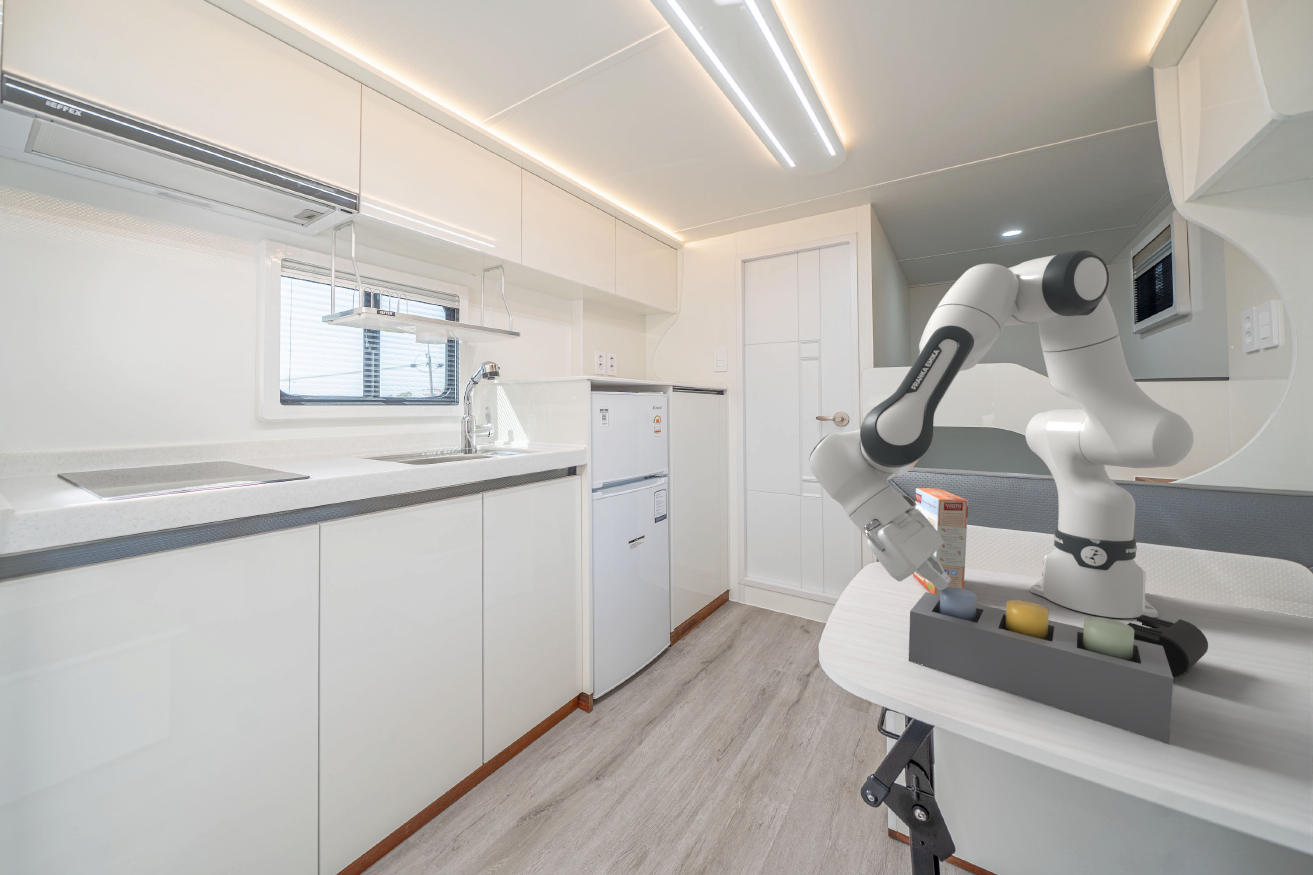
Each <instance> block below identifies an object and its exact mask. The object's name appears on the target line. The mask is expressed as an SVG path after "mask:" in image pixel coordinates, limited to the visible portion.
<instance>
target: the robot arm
mask: <svg viewBox="0 0 1313 875" xmlns="http://www.w3.org/2000/svg"><path fill="white" fill-rule="evenodd" d="M1109 283H1110V273H1109V270H1108V266H1107V264H1106V262H1105V261H1104V260H1103V259H1102V258H1101V257H1100V256H1099V255H1097V254H1096V253H1095V252H1093V251H1092V250H1087V249H1085V250H1084V249H1083V250H1082V249H1081V250H1080V249H1079V250H1067V251H1062V252H1059V253H1058V254H1055V255H1054V254H1052V255H1049V256H1043V257H1038V258H1033V259H1031V260H1026V261H1024V262H1021V263H1019V264H1017V265H1013V266H1011V267H1006V266H1004V265H1001V264H998V263H981V264H976V265H974V266H972V267H970V268H969V269H967V270H966V271H965V272H964V273H962V274H961V276H960V277H959V278H958V279H957V280H956V281H955V282H954V283H953V285H952V286H951V287H950V288H949V290H948V291H947V292H945V295H944V296H943V297H942V299H941V300H940V301H939V302H938V305H937V306H936V308H935V309H934V311H933V313H932V314H931V316H930V318H929V319H928V321H927V323H926V325H925V327H924V330H923V333H922V335H921V337H920V341H919V343H918V344H919V345H918V348H919V353H918V356H917V358H916V360H915V361H914V363H913V364H912V366H911V367H910V369H909V371H908V372H907V374H906V375H905V377H904V379H903V380H902V382H901V383H900V384H899V386H898V387H897V389H896V391H895V392H894V393H892V395H891V396H889V397H888V398H886V399H885V400H883V401H882V402H880V403H879V404H877V405H876V406H874V407H873V408H872V409H870V411H869V412H868V413H867V414H866V415H865V417H864V418H863V421H862V422H861V426H860V429H856V430H852V431H851V430H850V431H846V432H845V431H844V432H843V431H842V432H834V431H833V432H830V433H828V434H826V436H824V437H822V439H820V441H819V442H817V444H816V445H815V446H814V448H813V450H811V453H810V455H809V458H808V467H809V469H810V471H811V473H812V474H813V476H814V478H815V479H816V480H817V482H818V483H819V484H820V485H821V487H822V488H823V489H824V490H825V491H826V493H827V494H828V495H829V496H830V497H831V498H832V499H833V500H835V501H836V502H837V503H839V504H840V505H841V507H842V509H843V510H844V512H845V513H846V516H847V517H848V518H849V519H850V521H851V522H852V523H853V524H854V525H855V526H856V527H857V528H858V530H859V531H860V532H861V533H862V534H863V535H864V537H866V539H867V545H868V548H869V549H870V551H871V552H872V553H873V555H874V556H875V557H876V559H877V560H878V562H879V563H880V564H881V566H882V567H883V568H884V570H885V571H886V572H887V573H888V574H889V576H891V577H892V578H893V579H894V580H896V581H898V582H903V581H904V580H905V579H907V578H908V577H910V576H913V573H914V572H916V571H917V572H918V573H919V574H920V575H921V576H922V577H924V578H925V579H927V580H928V581H930V582H931V583H932V584H933V585H934V586H935V587H936V588H937V589H938V590H943V589H945V588H946V587H948V585H949V584H950V582H951V578H950V577H949V576H948V575H947V573H946V572H945V571H944V569H943V567H942V566H941V564H940V562H939V560H938V559H937V558H936V557H935V556H934V555H933V554H934V553H935V552H936V551H937V550H938V549H939V548H940V547H941V546H942V545H943V544H944V541H943V539H942V537H941V536H940V534H939V533H938V531H937V530H936V529H935V528H934V527H933V525H932V524H931V523H930V522H929V521H928V520H927V518H926V517H925V516H924V515H923V514H922V513H921V512H920V511H919V510H917V509H915V507H916V505H917V504H916V503H915V500H913V498H912V497H911V496H909V495H905V494H902V493H900V492H898V491H897V489H895V488H894V487H893V486H892V485H891V484H890V482H889V481H891V480H894V479H895V478H897V477H899V476H903V475H904V474H906V473H908V472H910V471H911V470H912V469H913V468H914V467H915V465H916V464H918V461H919V460H920V459H921V457H923V456H924V455H925V454H926V453H927V451H928V450H929V448H930V446H931V444H932V442H933V438H934V437H933V436H934V420H935V418H934V417H935V413H936V410H937V408H938V406H939V404H940V403H941V401H942V399H943V398H944V396H945V395H946V393H947V391H948V390H949V389H950V386H951V384H952V382H954V379H955V378H956V377H957V376H958V374H959V373H960V372H962V371H967V370H970V369H972V368H974V367H975V366H976V365H977V364H978V363H979V362H980V361H981V360H982V359H983V358H984V356H986V354H987V353H988V352H989V350H991V348H992V347H993V345H994V343H995V342H996V341H997V339H998V338H999V336H1000V334H1001V333H1002V331H1003V328H1004V327H1008V326H1009V327H1011V326H1023V325H1030V324H1035V323H1037V325H1038V332H1039V334H1038V335H1039V340H1040V346H1041V349H1042V350H1041V351H1042V355H1043V360H1044V364H1045V368H1046V373H1047V376H1048V382H1049V384H1050V386H1051V387H1052V388H1053V390H1054V391H1056V392H1057V393H1059V394H1060V395H1062V396H1065V397H1067V398H1069V399H1071V400H1072V401H1074V402H1075V403H1076V404H1077V405H1079V406H1080V408H1079V407H1077V408H1076V407H1074V408H1073V407H1072V408H1071V407H1064V408H1057V409H1051V410H1047V411H1042V412H1039V413H1037V414H1034V415H1033V416H1032V418H1031V419H1030V420H1029V422H1028V424H1027V425H1026V428H1025V433H1024V435H1025V441H1026V443H1027V446H1028V447H1029V449H1030V450H1031V451H1032V452H1033V453H1034V454H1035V455H1037V456H1038V457H1039V459H1041V460H1042V461H1043V462H1044V464H1045V465H1046V466H1047V468H1048V470H1049V472H1050V474H1051V475H1052V478H1053V480H1054V483H1055V485H1056V489H1057V495H1058V496H1057V497H1058V498H1057V499H1058V500H1057V501H1058V520H1057V527H1056V528H1055V530H1054V535H1053V540H1054V542H1053V543H1054V544H1053V545H1054V549H1053V550H1052V551H1050V552H1048V553H1047V554H1045V555H1044V557H1043V559H1042V562H1043V571H1042V574H1041V576H1042V578H1041V579H1039V580H1038V581H1037V582H1036V583H1034V584H1033V585H1031V586H1030V592H1031V593H1033V594H1035V595H1039V596H1041V597H1043V598H1045V599H1047V600H1049V601H1051V602H1053V603H1055V604H1057V605H1059V606H1062V607H1065V608H1067V609H1070V610H1074V611H1077V612H1082V613H1084V614H1090V615H1095V616H1098V617H1104V618H1115V619H1133V618H1138V617H1139V616H1141V615H1146V616H1149V617H1153V618H1158V617H1159V611H1158V610H1157V609H1156V608H1155V607H1154V606H1152V604H1151V603H1150V602H1149V601H1147V599H1146V579H1147V578H1146V576H1147V575H1146V571H1145V570H1144V569H1143V568H1142V567H1141V566H1140V565H1139V564H1137V562H1136V561H1135V558H1136V555H1137V550H1138V547H1137V539H1136V538H1134V532H1135V517H1136V501H1135V499H1134V497H1133V496H1132V494H1131V493H1130V492H1129V491H1128V490H1127V489H1125V488H1123V487H1121V486H1119V484H1118V485H1117V484H1116V483H1115V482H1114V481H1113V480H1112V479H1111V477H1110V476H1109V475H1108V473H1107V470H1106V468H1105V467H1106V466H1111V467H1120V468H1121V467H1122V468H1131V469H1154V468H1168V467H1173V466H1175V465H1177V464H1179V463H1181V461H1183V460H1184V459H1185V458H1187V456H1188V455H1189V454H1190V452H1191V450H1192V447H1193V445H1194V433H1193V430H1192V428H1191V425H1190V423H1188V421H1187V420H1186V419H1185V418H1184V417H1183V416H1181V415H1180V414H1178V413H1175V412H1173V411H1171V410H1169V409H1168V408H1165V407H1164V406H1162V405H1160V404H1159V403H1157V402H1156V401H1155V400H1153V399H1152V398H1151V397H1150V396H1149V395H1147V393H1146V392H1145V391H1144V390H1143V389H1142V388H1141V387H1140V386H1139V385H1138V384H1137V381H1135V378H1133V376H1132V374H1131V372H1130V370H1129V367H1128V364H1127V361H1126V357H1125V353H1124V350H1123V349H1124V348H1123V346H1122V345H1123V344H1122V342H1121V337H1120V332H1119V327H1118V323H1117V320H1116V316H1115V314H1114V311H1113V308H1112V306H1111V304H1110V302H1109V299H1108V297H1107V295H1106V293H1107V290H1108V287H1109Z"/></svg>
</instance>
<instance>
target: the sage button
mask: <svg viewBox="0 0 1313 875" xmlns="http://www.w3.org/2000/svg"><path fill="white" fill-rule="evenodd" d="M1127 624H1128V623H1127ZM1127 624H1126V623H1124V622H1121V621H1118V620H1115V619H1112V618H1109V617H1103V616H1087V617H1084V619H1083V628H1084V632H1083V646H1084V647H1085V648H1086V649H1087V650H1089V651H1091V652H1095V653H1099V654H1103V655H1107V656H1111V657H1115V658H1119V659H1123V660H1130V659H1132V658H1133V643H1134V629H1133V628H1132V627H1130V626H1129V625H1127Z"/></svg>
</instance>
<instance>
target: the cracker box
mask: <svg viewBox="0 0 1313 875" xmlns="http://www.w3.org/2000/svg"><path fill="white" fill-rule="evenodd" d="M914 502H915V503H916V504H917V505H916V507H914V508H915V509H917V510H919V511H920V512H921V513H922V514H923V515H924V516H925V517H926V518H927V520H928V521H929V522H930V523H931V524H932V525H933V527H934V528H935V529H936V530H937V531H938V533H939V534H940V536H941V537H942V539H943V541H944V544H943V545H942V546H941V547H940V548H939V549H938V550H937V551H936V552H935V553H934V554H933V555H934V556H935V557H936V558H937V559H938V560H939V562H940V564H941V566H942V567H943V569H944V571H945V572H946V573H947V575H948V576H949V577H950V578H951V582H950V584H949V585H948V587H956V588H962V589H965V570H966V553H967V552H966V551H967V550H966V549H967V530H968V515H969V514H968V511H969V510H968V509H969V500H967V499H966V498H963V497H961V496H959V495H956V494H953V493H951V492H950V491H947V490H945V489H942V488H935V487H927V488H926V487H916V488H915V500H914ZM912 576H913V577H914V578H915V579H916V580H917V581H918V582H919V584H921V585H922V587H923V588H925V590H926V591H928V593H932V594H937V595H940V590H938V589H937V588H936V587H935V586H934V585H933V584H932V583H931V582H930V581H928V580H927V579H925V578H924V577H922V576H921V575H920V574H919V573H918V572H917V571H916V572H914V573H913V574H912Z"/></svg>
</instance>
